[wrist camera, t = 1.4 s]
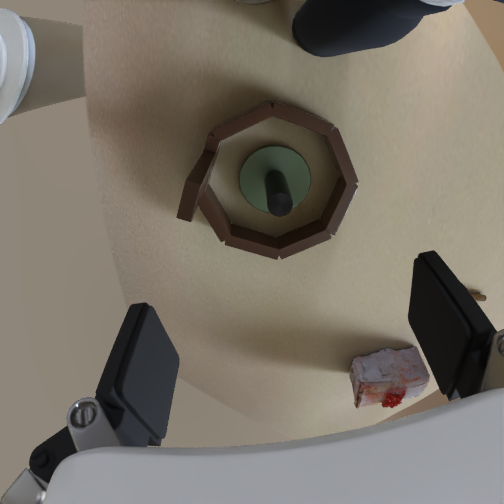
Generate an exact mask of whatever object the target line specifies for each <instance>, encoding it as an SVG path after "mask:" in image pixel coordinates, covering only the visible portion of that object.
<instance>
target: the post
mask: <svg viewBox="0 0 504 504" xmlns="http://www.w3.org/2000/svg"><path fill="white" fill-rule="evenodd" d="M310 181H311V177H310V171H309V168H308V165H307V164H306V162H305V160H304V159H303V157H302V156H301V155H300V154H299V153H297V152H296V151H295V150H293V149H291V148H289V147H286V146H283V145H267V146H263V147H261V148H259V149H257V150H255V151H254V152H252V153H251V154H250V155H249V156H248V157H247V158H246V159H245V161H244V163H243V165H242V167H241V170H240V176H239V184H240V189H241V192H242V194H243V196H244V197H245V199H246V200H247V201H248V202H249V203H250V204H251V205H252V206H253V207H255V208H257V209H258V210H261V211H264V212H268V213H271V214H273V215H275V216H285V215H287V214H289V213H290V212H291V210H292V208H294V207H296V206H297V205H298V204H299V203H301V202H302V200H303V199H304V198H305V196H306V195H307V193H308V190H309V187H310Z"/></svg>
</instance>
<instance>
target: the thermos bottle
mask: <svg viewBox="0 0 504 504" xmlns="http://www.w3.org/2000/svg"><path fill="white" fill-rule="evenodd" d="M235 1H237V2H241V3H246V4H259V3H265V2H268V1H271V0H235Z"/></svg>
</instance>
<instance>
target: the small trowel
mask: <svg viewBox="0 0 504 504" xmlns="http://www.w3.org/2000/svg"><path fill="white" fill-rule="evenodd" d="M470 294H471V293H470ZM471 296H472V297H473V298H474V300H477V301H485V300H486V296H485V295H482V294H471Z"/></svg>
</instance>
